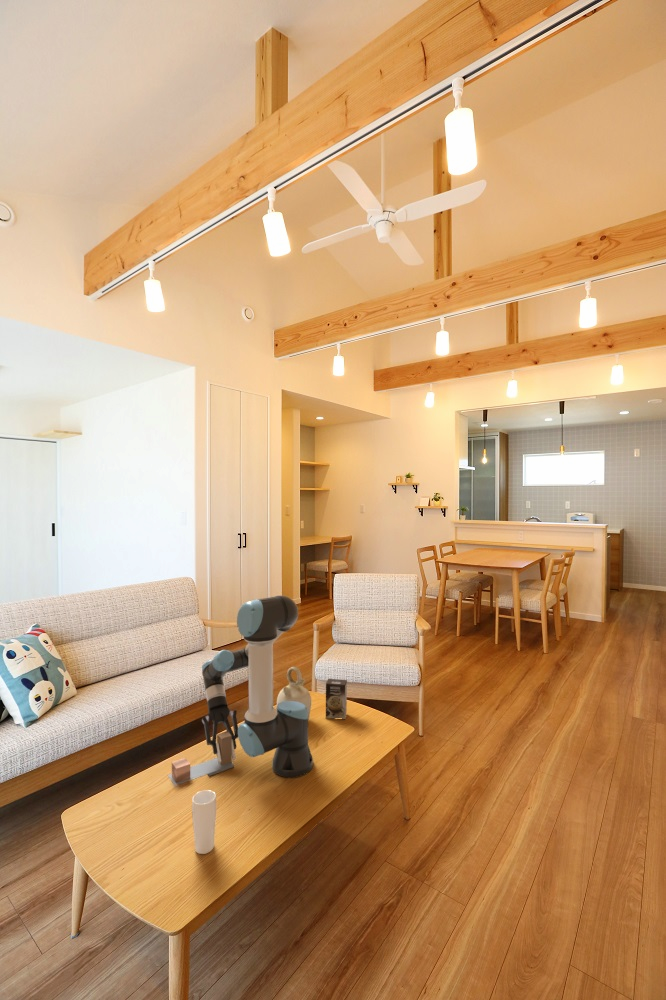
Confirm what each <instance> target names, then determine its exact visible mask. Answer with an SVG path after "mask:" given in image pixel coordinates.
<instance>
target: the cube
mask: <svg viewBox="0 0 666 1000" xmlns="http://www.w3.org/2000/svg"><path fill="white" fill-rule="evenodd" d="M190 767H191V763H190V761H189V760H188V759H187V758H186V757H182V758H180V759H176V760H174V761H171V774H172V777H173V778H174V780H175V781H176V783H177V782H180V781H183V780H185V779H188V778H190Z"/></svg>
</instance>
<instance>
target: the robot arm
mask: <svg viewBox="0 0 666 1000" xmlns="http://www.w3.org/2000/svg"><path fill="white" fill-rule="evenodd" d="M298 618H299V609H298V605H297V603H296V602H295V601H294V600H293V599H292V598H290V597H289V596H285V595H276V596H270V597H264V598H258V599H253V600H250V601H246V602H243V603H242V605H241V606H240V607H239V610H238V611H237V616H236V625H237V628H238V632H239V634H240V635H241V636H242V637H243V641H245V642H246V643H247V644H246V645H245V647H243V648H241V649H237V650H233V651H231V650H227V649H222V650H220V651H218V652H217V654H216V655H214V656H213V659H210V660H207V661H206V662H204V663H203V664H202V666H201V670H202V671H201V672H202V673H201V675H202V678H203V685H204V691H205V697H206V701H207V702H206V703H207V704H206V705H207V710H208V714H207V715H205V716H203V717H202V719H201V722H202V724H203V726H204V733H205V734H204V735H205V740H206V745H207V746H211V747H212V752H213V755H216V758H217V760H218V764H220V763H221V756H220V750H219V744H218V743H217V734H218V733H217V732H218V725H219V724H223V726H224V727H225V730H226V731H227V732H228V733H229V734H230V735H231V737H232V761H235V759H236V757H237V756H236V752H235V750H237V742H236V740H237V739H238V741H239V745H240V746H241V748H242V750H243V751H244V753H245V754H246V755H248V756H249V757H250V758H256V757H258V756H263V755H264V754H266V753H268V752H270V751H273V750H275V751H274V755H273V758H272V761H271V762H272V764H271V767H272V768H271V769H272V770H273V772H274V773H275V774H276V775H278V776H279V777H282V776H283V778H288V777H290V779H293V778H298V777H303V776H305V775H307V774H308V773H310V772H311V770H312V769H313V766H314V763H313V762H314V758H313V755H312V751H311V748H310V746H309V720H308V710H307V707H306V706H305V705H304V704H302V703H299V702H295V701H284V702H280V703H279V704H278V705H277V704H276V707H274V653H273V652H274V646H273V645H274V644H273V643H275V642H276V641H277V640H278V639H279V637H280V636H281V635H283V633H285V632H288V631H290V630H291V628H293V627H294V626H295V624H296V623H297V620H298ZM245 668H248V709H247V711H246V712H245V713H244V722H242V723H241V724H238V720H237V713H238V712H237V710H230V708H229V705H228V701H227V695H226V690H225V684H224V677H225V676H226V675H227V673H231V672H234V671H238V670H241V669H245ZM229 715H230V718H231V723H232V726H233V727H231V724H230V722H229V719H228V717H229ZM209 721H211V722H212V723H213V724H212V736H211V732H210V725H209ZM232 728H233V729H232ZM211 737H212V738H211ZM306 773H307V774H306Z"/></svg>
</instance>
